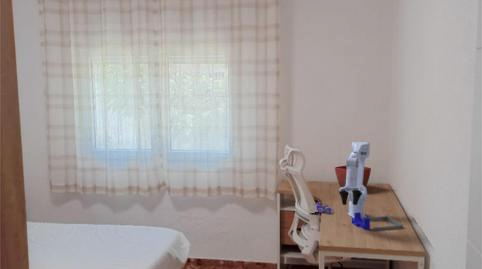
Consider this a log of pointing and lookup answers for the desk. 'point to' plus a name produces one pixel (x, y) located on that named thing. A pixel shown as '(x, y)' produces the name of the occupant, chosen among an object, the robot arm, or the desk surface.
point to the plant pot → (342, 173)
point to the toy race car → (323, 208)
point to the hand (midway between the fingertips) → (349, 204)
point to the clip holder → (397, 226)
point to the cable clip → (358, 221)
